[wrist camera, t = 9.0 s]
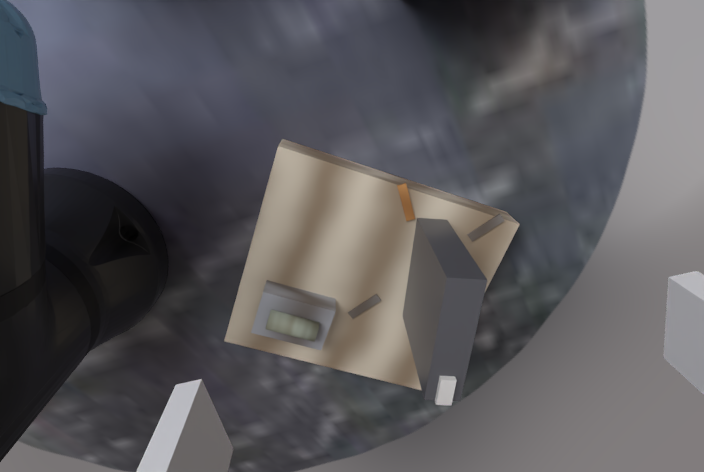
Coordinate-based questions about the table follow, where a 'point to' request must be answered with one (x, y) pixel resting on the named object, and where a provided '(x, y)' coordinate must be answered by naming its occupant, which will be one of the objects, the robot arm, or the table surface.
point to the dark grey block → (442, 309)
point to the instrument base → (346, 262)
